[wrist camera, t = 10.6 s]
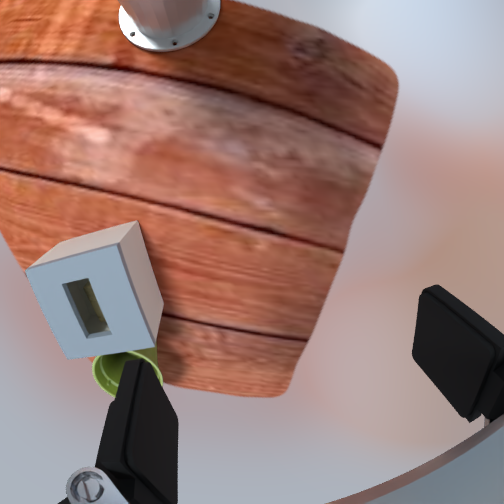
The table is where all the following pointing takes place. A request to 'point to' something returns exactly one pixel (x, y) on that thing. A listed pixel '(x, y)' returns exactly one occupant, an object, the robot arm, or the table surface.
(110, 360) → the plant pot
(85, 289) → the block
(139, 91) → the table surface
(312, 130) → the table surface
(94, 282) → the grey slotted box
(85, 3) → the table surface
